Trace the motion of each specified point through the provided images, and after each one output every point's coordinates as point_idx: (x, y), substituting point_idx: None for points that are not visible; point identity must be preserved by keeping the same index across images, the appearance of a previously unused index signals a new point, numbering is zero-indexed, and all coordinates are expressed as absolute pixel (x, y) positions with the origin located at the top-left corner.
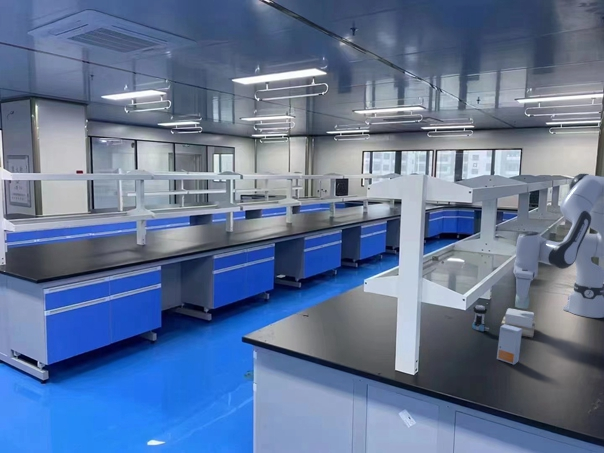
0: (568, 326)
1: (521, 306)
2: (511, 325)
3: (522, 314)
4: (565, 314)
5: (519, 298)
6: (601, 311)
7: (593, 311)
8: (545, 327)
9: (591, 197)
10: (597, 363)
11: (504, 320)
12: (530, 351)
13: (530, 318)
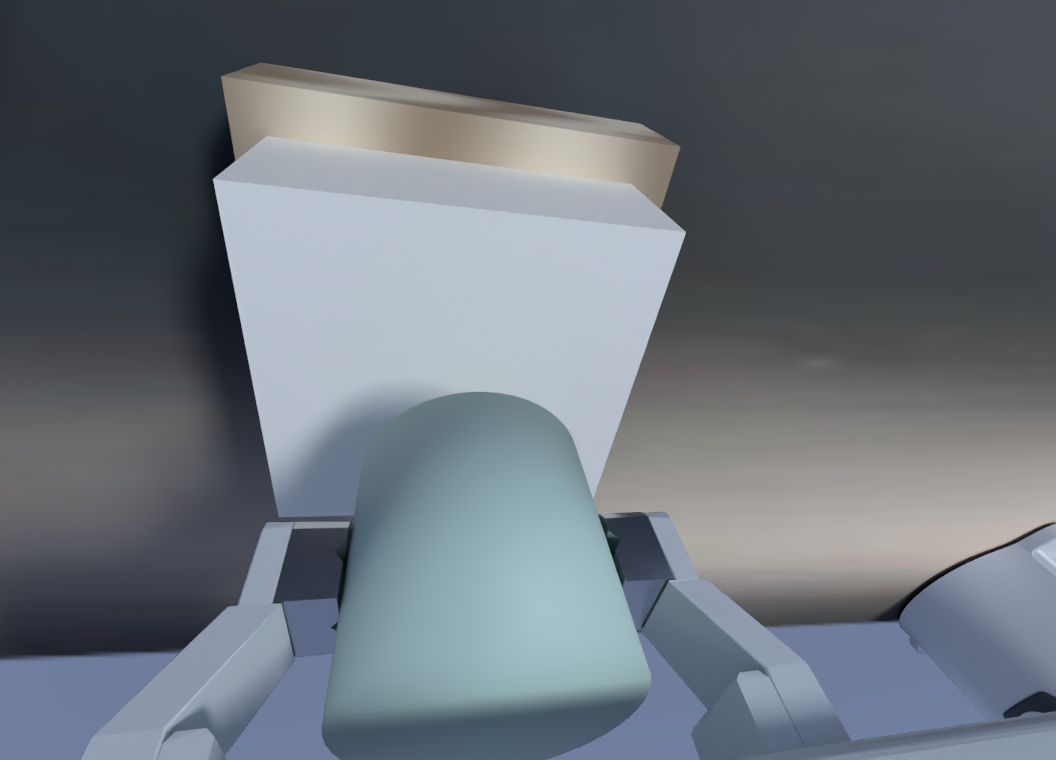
0: (726, 548)
1: (355, 507)
2: None
3: None
4: (967, 531)
5: (150, 685)
6: (933, 659)
7: (933, 643)
8: (655, 457)
9: None
10: (71, 654)
11: (422, 138)
12: None
13: (275, 497)
